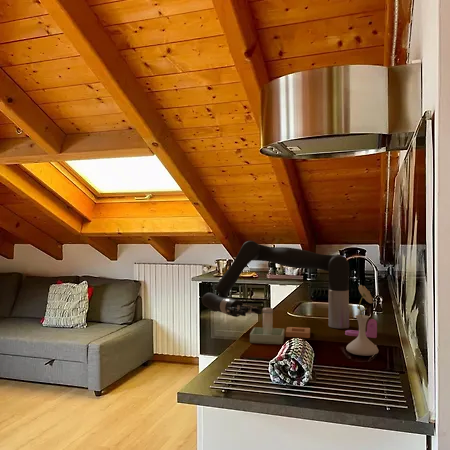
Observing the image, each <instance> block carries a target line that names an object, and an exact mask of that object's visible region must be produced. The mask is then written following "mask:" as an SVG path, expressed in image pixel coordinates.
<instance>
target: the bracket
mask: <svg viewBox="0 0 450 450" xmlns="http://www.w3.org/2000/svg"><path fill="white" fill-rule="evenodd" d="M344 332H345V333H344V335H346V336H350V337H358V335H359V330H353V329H347V330H345V331H344ZM365 333H366V337H367V338H370V339H371V338H372V339H376V338H377V337H378V321H377V320H376V319H374V318H370V319H368V320H367V323H366V330H365Z"/></svg>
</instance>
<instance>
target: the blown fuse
mask: <svg viewBox="0 0 450 450" xmlns="http://www.w3.org/2000/svg"><path fill="white" fill-rule="evenodd" d="M273 313H274V309H273V308H272V307H263V308H262V328H263V334H264V335H273V334H272V328H273V321H274V320H273V319H274V318H273V316H274V315H273Z"/></svg>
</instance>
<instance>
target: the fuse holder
mask: <svg viewBox="0 0 450 450" xmlns="http://www.w3.org/2000/svg"><path fill="white" fill-rule="evenodd" d="M285 329H286V330H285V337H286V338H301V339H302V338H303V339H304V338H305V339H309V338H311V328H310V327H297V326H296V327H294V326H287V327H286V328H285Z"/></svg>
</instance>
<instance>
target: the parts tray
mask: <svg viewBox="0 0 450 450" xmlns="http://www.w3.org/2000/svg"><path fill="white" fill-rule="evenodd" d="M285 329H286V328H277V327H272V334H273V335H264V334H263V327H260V326H259V327H257V326H256V327H255V326H254V327H253V328H252V329H251V331H250V333H249V343H250V344H264V345H280V344H281V345H282V344H284V342H285V341H284V340H285V337H286V330H285Z"/></svg>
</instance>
